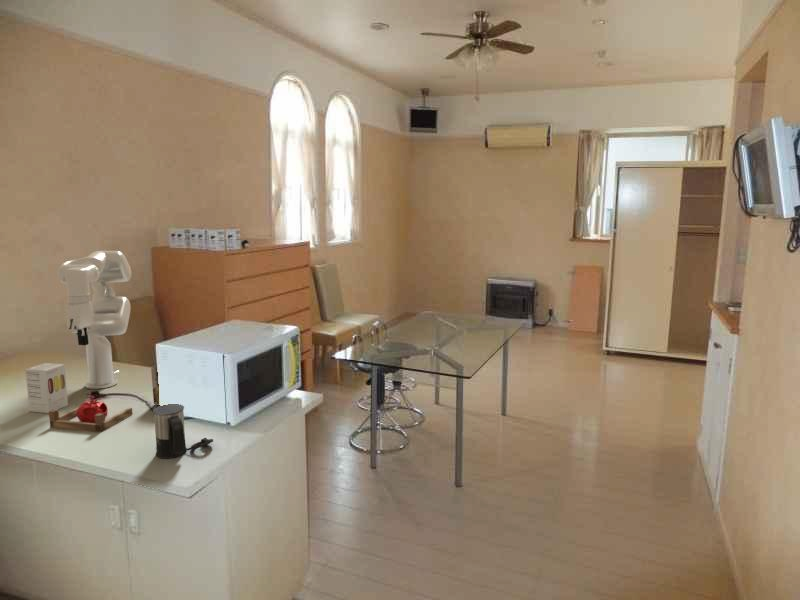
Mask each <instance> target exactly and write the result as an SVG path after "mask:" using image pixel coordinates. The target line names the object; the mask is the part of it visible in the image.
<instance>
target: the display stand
mask: <svg viewBox="0 0 800 600" xmlns="http://www.w3.org/2000/svg"><path fill="white" fill-rule="evenodd" d="M79 407H80V406H78V407H76V408H73V409H72V410H69V411H68V412H66V413H63V414H61V415H60V414H59V409H58V410H55V409H53V410H51V411H49V413H48V417H49V427H50V428H53V429H62V430H63V429H64V430H73V431H75V430H76V431H83V432H85V431H86V432H96V433H102V432H104V431H106V430H107V429H109V428H111V427H112V425H113V426H114V425H116V424H118V423H120V422H121V421H124V420H125V419H127V418H128V417H130V416H132V415H133V407H128V408H126V409H124V410H122V411H120V412H118V413H117V414H115V415H113V416H112V417H110V418H108V419H106V420H105V419H104V414H101V413H98V414H96V415H94V416H95V423H86V422H81V421H71V420H72V419H74V418H77V415H76V412H77V409H78V408H79ZM131 414H132V415H131ZM126 417H127V418H126ZM124 418H125V419H124ZM119 421H120V422H119Z"/></svg>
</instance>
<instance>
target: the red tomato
mask: <svg viewBox="0 0 800 600" xmlns="http://www.w3.org/2000/svg"><path fill="white" fill-rule="evenodd" d="M94 398H95V396H94V395H91V396H90V401H87V400H83V401H81V404H80V406H78V407H79V408H78V407H77V408H78V409H77V412H76V415H77V416H76V418H77V419H78V420H79V422H86V423H95V416H94V415H96V414H98V413H101V414H104V420H105V419H106V418H107V417H108V405H107V404H106V403H105V402H103V401H99V400H101V398H97V399H95V400H94ZM82 402H83V403H82Z"/></svg>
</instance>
